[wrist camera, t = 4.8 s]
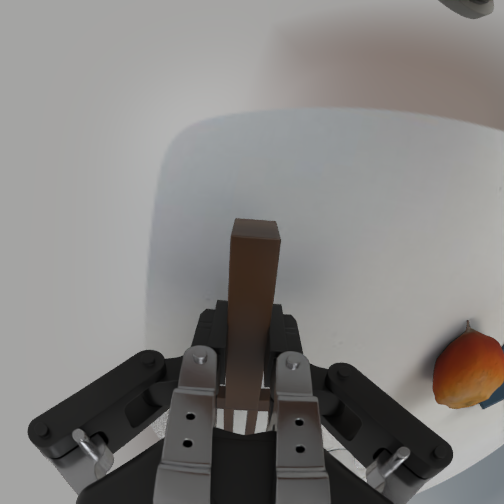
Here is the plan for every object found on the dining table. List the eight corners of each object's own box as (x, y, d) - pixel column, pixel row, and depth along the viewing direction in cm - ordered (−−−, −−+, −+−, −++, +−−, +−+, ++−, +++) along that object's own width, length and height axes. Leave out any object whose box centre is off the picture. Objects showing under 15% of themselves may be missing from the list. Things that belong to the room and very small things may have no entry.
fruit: (507, 323, 18) (515, 395, 13) (452, 351, 24) (453, 415, 19) (482, 298, 17) (493, 389, 12) (417, 334, 23) (415, 412, 18)
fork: (196, 215, 12) (183, 232, 10) (314, 224, 12) (327, 242, 10) (205, 425, 18) (202, 450, 16) (272, 430, 18) (273, 454, 16)
